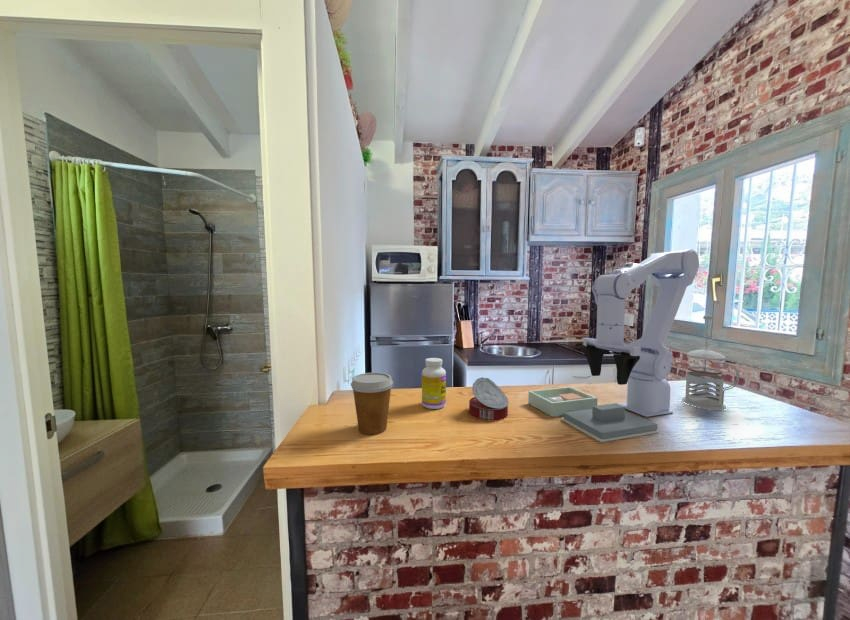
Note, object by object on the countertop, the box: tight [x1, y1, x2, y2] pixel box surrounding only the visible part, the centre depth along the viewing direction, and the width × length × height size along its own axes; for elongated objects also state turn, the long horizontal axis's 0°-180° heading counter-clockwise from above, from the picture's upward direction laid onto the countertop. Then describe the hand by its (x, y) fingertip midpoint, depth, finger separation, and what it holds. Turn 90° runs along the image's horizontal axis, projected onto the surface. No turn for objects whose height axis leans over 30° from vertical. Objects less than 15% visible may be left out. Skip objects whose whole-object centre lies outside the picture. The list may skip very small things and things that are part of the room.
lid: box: [563, 402, 658, 439], centre depth 73 cm, size 15×11×4 cm
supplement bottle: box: [421, 357, 447, 410], centre depth 86 cm, size 7×7×13 cm
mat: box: [560, 417, 660, 443], centre depth 73 cm, size 16×12×1 cm
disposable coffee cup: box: [350, 372, 394, 436], centre depth 71 cm, size 10×10×12 cm
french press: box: [681, 314, 740, 411], centre depth 86 cm, size 10×12×25 cm
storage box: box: [527, 386, 598, 418], centre depth 85 cm, size 14×10×4 cm
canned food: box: [468, 377, 509, 422], centre depth 81 cm, size 11×10×10 cm
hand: (608, 379), depth 76 cm, fingers open, 7 cm apart
